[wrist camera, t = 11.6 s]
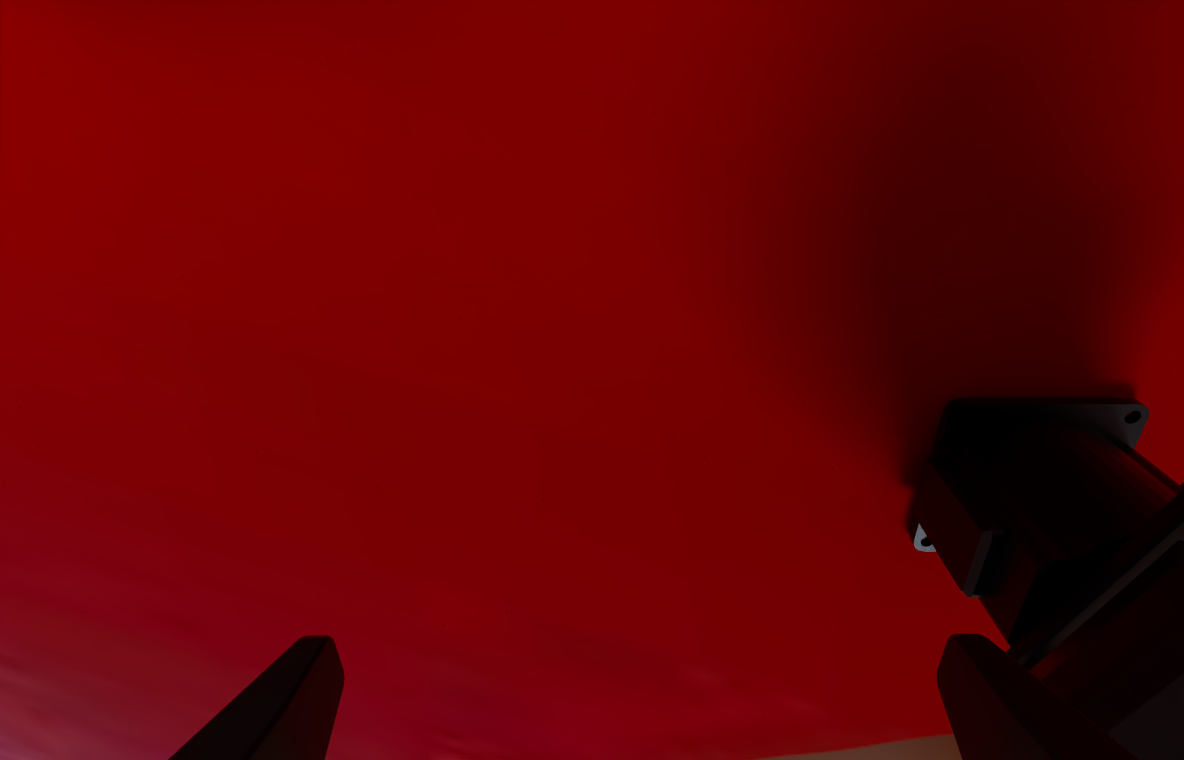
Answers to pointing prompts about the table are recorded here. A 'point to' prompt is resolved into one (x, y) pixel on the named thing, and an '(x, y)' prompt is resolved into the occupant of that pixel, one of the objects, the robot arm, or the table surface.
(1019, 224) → the table surface
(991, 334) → the table surface
